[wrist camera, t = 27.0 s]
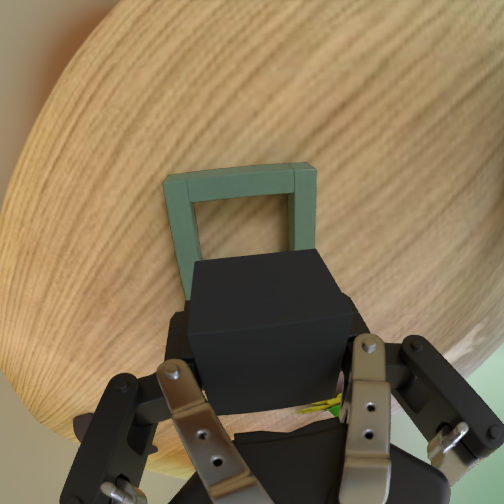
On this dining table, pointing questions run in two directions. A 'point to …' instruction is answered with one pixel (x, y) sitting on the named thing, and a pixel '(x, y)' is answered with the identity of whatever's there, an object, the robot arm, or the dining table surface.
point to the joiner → (232, 186)
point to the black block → (267, 330)
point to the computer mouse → (82, 425)
